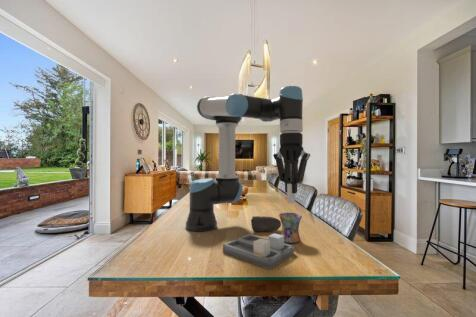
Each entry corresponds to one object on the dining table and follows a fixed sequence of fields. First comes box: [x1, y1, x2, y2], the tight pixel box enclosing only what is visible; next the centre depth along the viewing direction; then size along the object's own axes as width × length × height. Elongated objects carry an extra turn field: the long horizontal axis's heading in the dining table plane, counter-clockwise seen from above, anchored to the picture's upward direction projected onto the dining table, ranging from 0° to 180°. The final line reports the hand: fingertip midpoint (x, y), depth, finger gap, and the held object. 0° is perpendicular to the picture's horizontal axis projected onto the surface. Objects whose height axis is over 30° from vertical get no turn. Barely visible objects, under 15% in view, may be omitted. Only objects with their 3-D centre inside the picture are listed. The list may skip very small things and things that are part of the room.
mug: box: [278, 212, 303, 244], centre depth 98 cm, size 12×9×11 cm
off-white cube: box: [253, 238, 270, 257], centre depth 78 cm, size 4×4×4 cm
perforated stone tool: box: [250, 215, 282, 233], centre depth 109 cm, size 15×5×7 cm, turn 99°
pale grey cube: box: [267, 233, 285, 250], centre depth 84 cm, size 4×4×4 cm
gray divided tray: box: [222, 233, 295, 270], centre depth 84 cm, size 20×16×3 cm
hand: (291, 202), depth 79 cm, fingers closed
